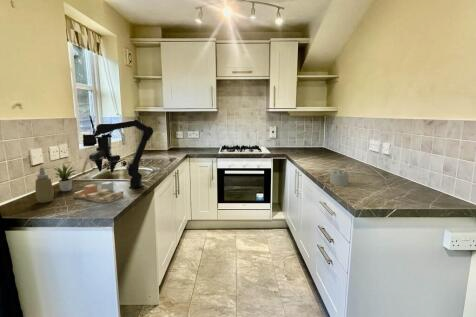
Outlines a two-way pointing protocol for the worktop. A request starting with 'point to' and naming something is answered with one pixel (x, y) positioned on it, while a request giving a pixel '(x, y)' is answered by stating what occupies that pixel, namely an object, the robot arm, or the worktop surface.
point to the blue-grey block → (107, 185)
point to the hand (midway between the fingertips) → (106, 171)
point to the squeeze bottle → (44, 187)
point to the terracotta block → (90, 189)
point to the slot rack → (99, 195)
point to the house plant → (65, 178)
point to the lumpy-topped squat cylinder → (339, 177)
